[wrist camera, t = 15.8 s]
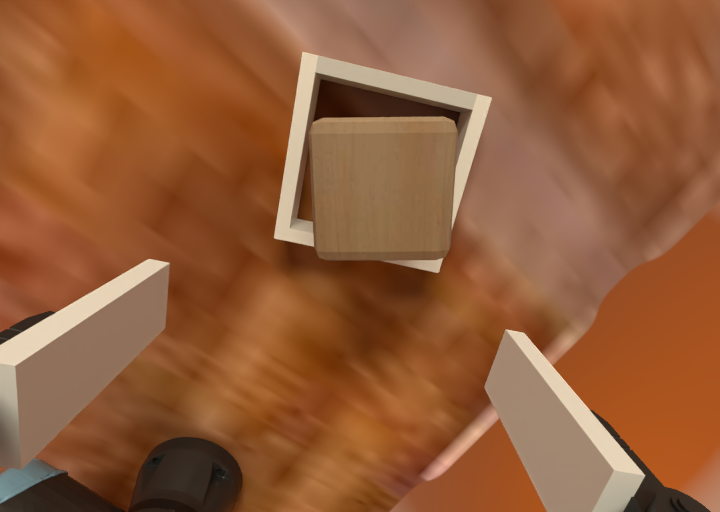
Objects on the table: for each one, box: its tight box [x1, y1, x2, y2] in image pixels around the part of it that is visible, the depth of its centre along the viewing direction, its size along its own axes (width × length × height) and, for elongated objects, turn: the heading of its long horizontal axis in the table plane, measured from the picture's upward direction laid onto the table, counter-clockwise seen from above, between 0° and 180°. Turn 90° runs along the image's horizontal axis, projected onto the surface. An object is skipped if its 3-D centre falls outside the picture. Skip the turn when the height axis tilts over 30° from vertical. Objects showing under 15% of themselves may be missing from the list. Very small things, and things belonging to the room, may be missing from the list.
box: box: [274, 52, 492, 273], centre depth 42 cm, size 19×19×5 cm
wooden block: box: [308, 117, 458, 261], centre depth 35 cm, size 10×10×20 cm
